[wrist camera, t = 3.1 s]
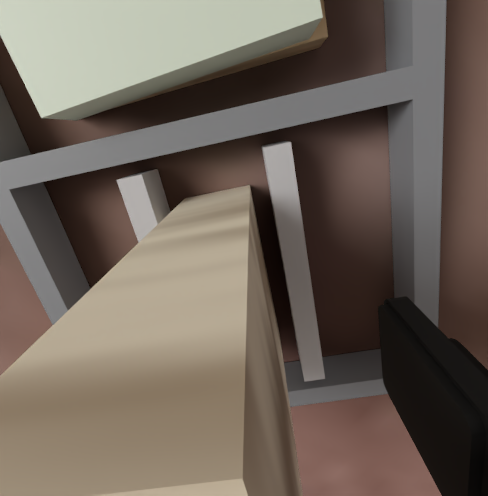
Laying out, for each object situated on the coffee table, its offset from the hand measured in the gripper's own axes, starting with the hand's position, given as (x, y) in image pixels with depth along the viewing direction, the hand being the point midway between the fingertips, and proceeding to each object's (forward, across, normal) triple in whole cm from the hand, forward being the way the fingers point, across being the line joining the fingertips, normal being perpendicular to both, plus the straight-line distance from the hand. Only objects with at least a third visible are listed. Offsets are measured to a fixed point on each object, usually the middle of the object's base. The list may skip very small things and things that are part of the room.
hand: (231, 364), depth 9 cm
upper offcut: (+4, 0, -11) cm, 12 cm away
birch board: (+6, 0, 0) cm, 6 cm away
